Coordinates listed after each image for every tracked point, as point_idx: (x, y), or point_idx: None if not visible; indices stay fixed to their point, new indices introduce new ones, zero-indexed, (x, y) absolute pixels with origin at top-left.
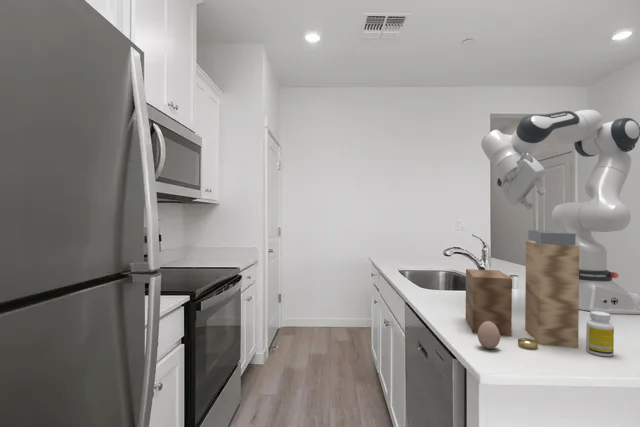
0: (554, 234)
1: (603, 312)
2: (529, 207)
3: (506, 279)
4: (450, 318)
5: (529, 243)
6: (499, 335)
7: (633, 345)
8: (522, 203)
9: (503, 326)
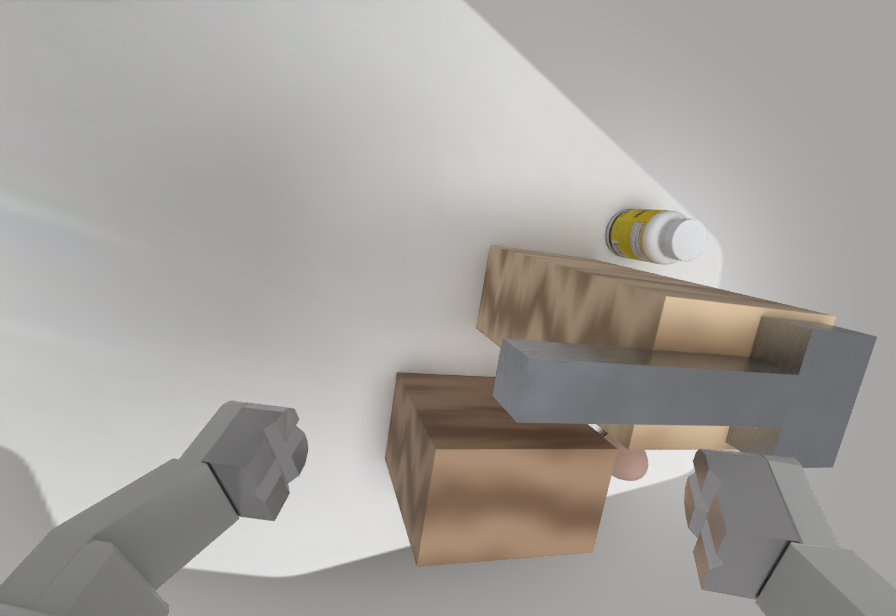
0: (843, 415)
1: (684, 226)
2: (307, 452)
3: (611, 462)
4: (390, 497)
5: (672, 445)
6: None
7: (578, 111)
8: (182, 566)
9: None
